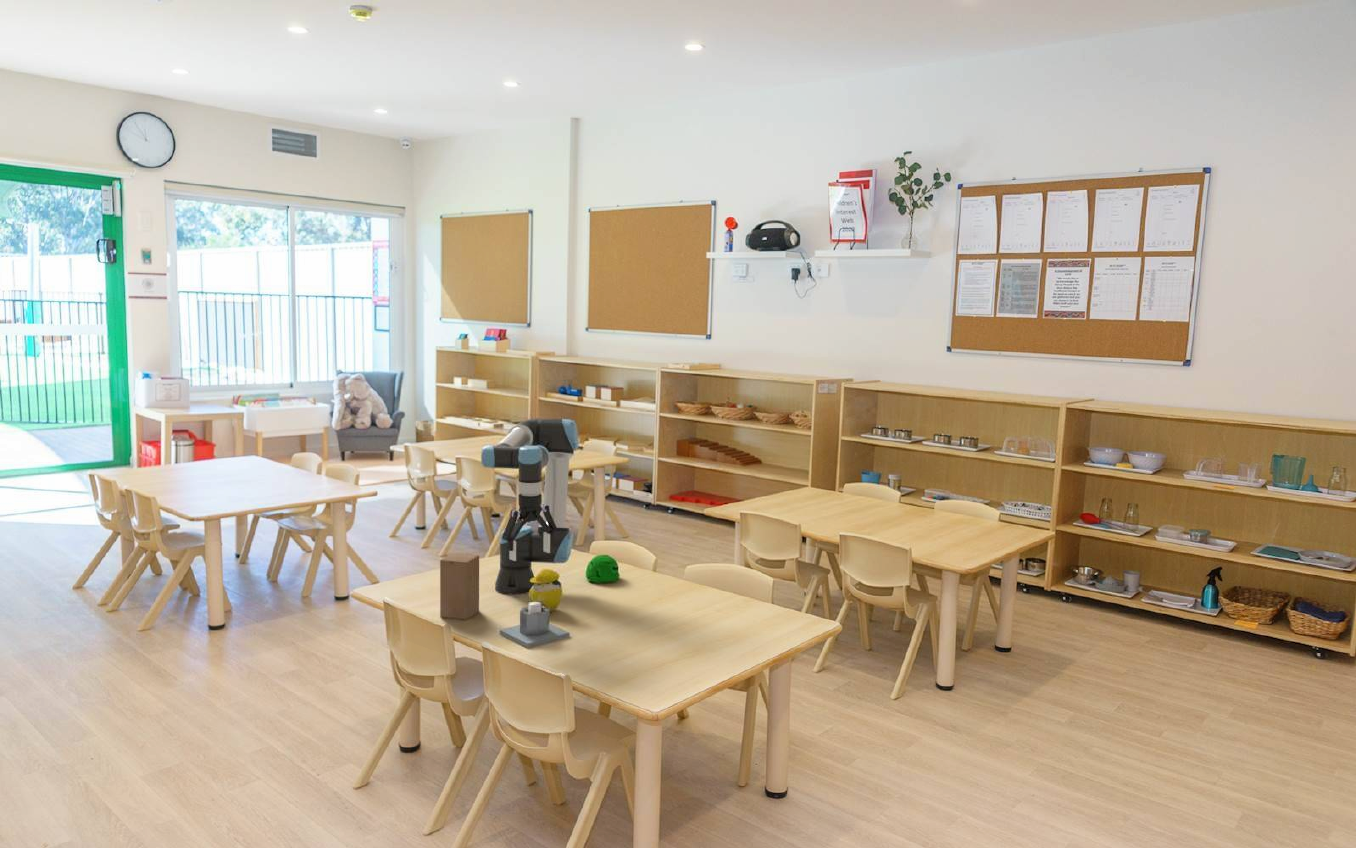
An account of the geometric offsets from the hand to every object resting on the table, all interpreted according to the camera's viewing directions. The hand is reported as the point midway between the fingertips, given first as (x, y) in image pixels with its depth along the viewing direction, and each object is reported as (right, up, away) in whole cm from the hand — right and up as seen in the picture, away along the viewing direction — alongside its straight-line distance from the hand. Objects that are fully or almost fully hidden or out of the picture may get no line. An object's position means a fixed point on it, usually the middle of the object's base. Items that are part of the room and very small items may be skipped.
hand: (530, 556), depth 302 cm
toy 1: (+3, -22, +16) cm, 27 cm away
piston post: (+3, -24, -8) cm, 26 cm away
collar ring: (+3, -23, -9) cm, 25 cm away
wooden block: (-26, -22, +10) cm, 35 cm away
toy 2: (+19, -18, +55) cm, 61 cm away
